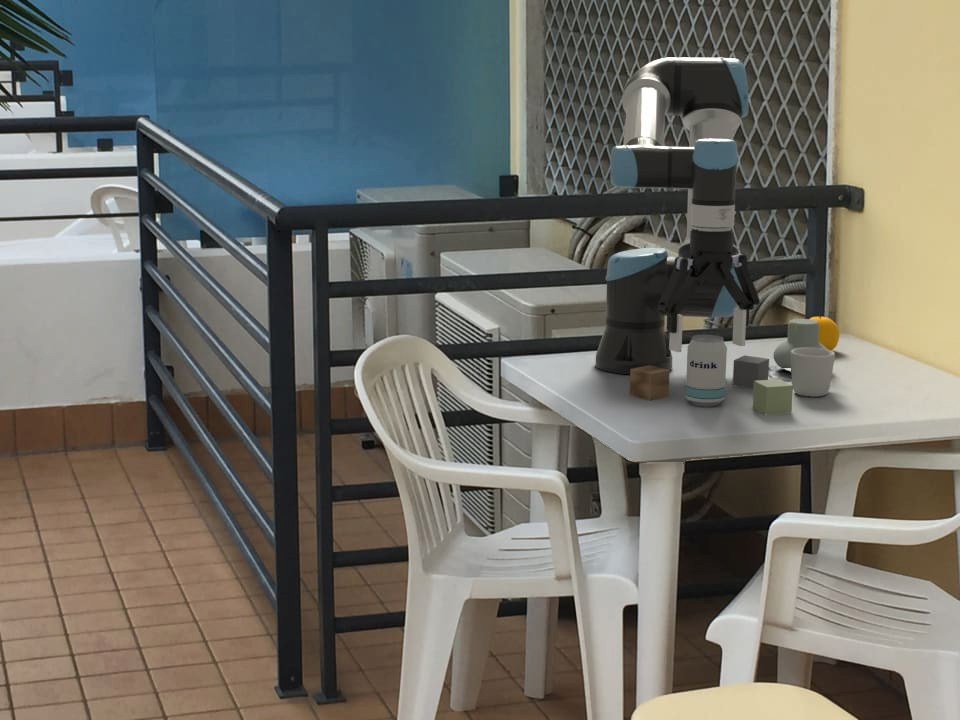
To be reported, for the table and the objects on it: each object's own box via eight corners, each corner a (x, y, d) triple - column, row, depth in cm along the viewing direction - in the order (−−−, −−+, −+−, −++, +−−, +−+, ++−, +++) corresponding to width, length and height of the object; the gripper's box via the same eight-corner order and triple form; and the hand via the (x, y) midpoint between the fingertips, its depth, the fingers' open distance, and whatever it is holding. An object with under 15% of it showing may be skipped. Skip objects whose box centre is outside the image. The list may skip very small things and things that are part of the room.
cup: (807, 384, 279) (810, 342, 277) (846, 390, 274) (849, 348, 272) (780, 394, 271) (782, 352, 269) (820, 401, 266) (822, 358, 264)
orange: (817, 357, 302) (819, 321, 300) (791, 349, 308) (793, 314, 307) (846, 353, 306) (848, 317, 304) (819, 346, 312) (822, 311, 311)
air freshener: (787, 377, 284) (790, 327, 281) (765, 368, 291) (768, 319, 289) (836, 374, 287) (839, 323, 285) (814, 365, 295) (816, 316, 293)
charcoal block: (732, 386, 277) (733, 360, 276) (743, 380, 281) (744, 355, 280) (757, 389, 274) (758, 363, 273) (767, 384, 279) (769, 358, 277)
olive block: (752, 408, 261) (753, 380, 260) (777, 406, 263) (779, 379, 262) (765, 415, 257) (767, 387, 255) (791, 413, 258) (793, 385, 257)
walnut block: (629, 395, 269) (630, 369, 268) (648, 391, 273) (649, 365, 271) (650, 400, 266) (651, 373, 265) (668, 396, 269) (669, 369, 268)
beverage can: (681, 405, 262) (684, 340, 259) (690, 397, 268) (692, 332, 266) (719, 409, 260) (722, 343, 257) (727, 400, 266) (730, 335, 263)
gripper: (664, 234, 248) (659, 357, 252) (783, 227, 259) (777, 345, 263) (640, 229, 255) (636, 349, 259) (757, 223, 266) (751, 338, 270)
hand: (707, 347), depth 261 cm, fingers open, 13 cm apart
